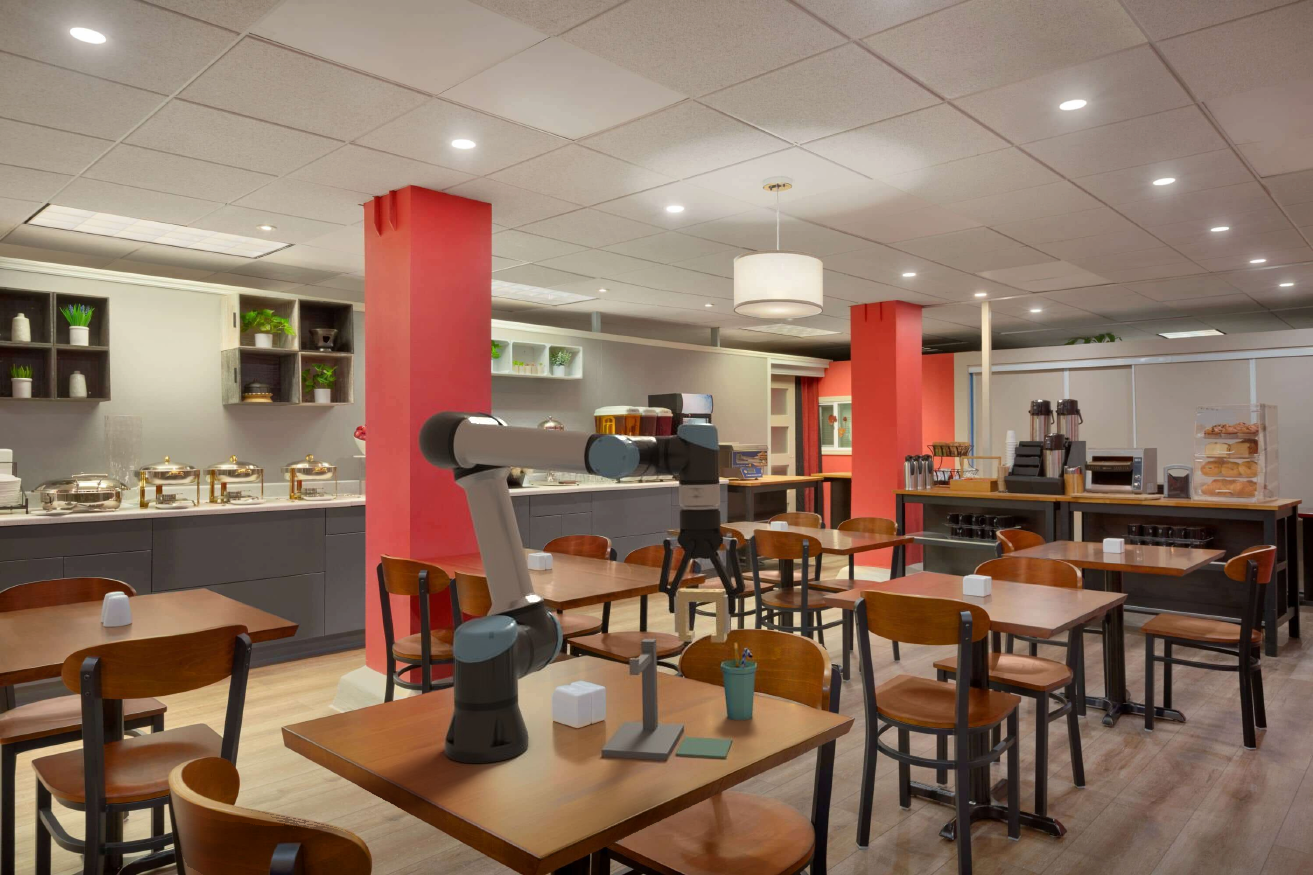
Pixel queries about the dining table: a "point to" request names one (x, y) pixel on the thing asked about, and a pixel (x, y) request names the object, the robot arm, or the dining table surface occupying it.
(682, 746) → the mat
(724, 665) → the cup
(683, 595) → the c link
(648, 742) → the stand
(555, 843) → the dining table surface
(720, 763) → the dining table surface
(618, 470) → the robot arm
